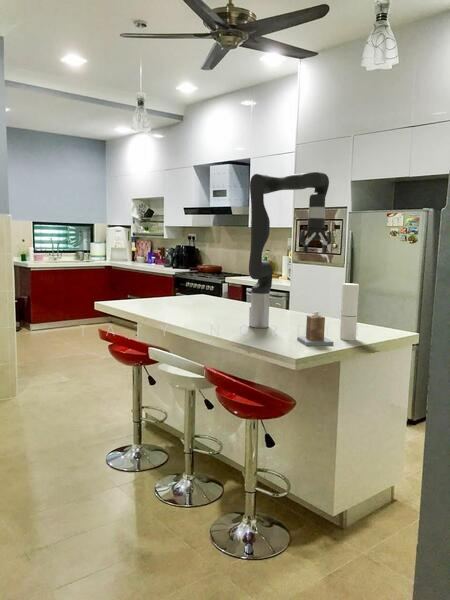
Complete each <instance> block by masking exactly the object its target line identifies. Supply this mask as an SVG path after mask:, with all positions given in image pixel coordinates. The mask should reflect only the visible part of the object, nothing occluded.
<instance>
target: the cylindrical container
mask: <svg viewBox="0 0 450 600" xmlns="http://www.w3.org/2000/svg"><path fill="white" fill-rule="evenodd" d="M341 286H342V288H341V289H342V290H341V291H342V292H341V310H340V311H341V312H340V322H339V323H340V326H339V339H340V340H343V341H357V340H356V339H357V328H358V326H357V324H358V323H357V322H358V307H359V293H360V291H359V289H360V284H358V283H346V282H345V283H344V282H343V283H342V285H341Z"/></svg>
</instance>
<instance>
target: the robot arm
mask: <svg viewBox="0 0 450 600" xmlns="http://www.w3.org/2000/svg"><path fill="white" fill-rule="evenodd" d="M249 181H250V182H249V190H250V191H249V193H250V194H249V195H250V207H251V208H250V214H251V215H250V217H251V220H250V253H249V259H248V260H249V261H248V275H249V276H250V279H252V280H257V281H256V283H255V284H254V285H253V286H252V287H251V290H250V291H251V295H250V296H251V297H250V301H251V302H250V303H251V304H250V307H249V314H248V315H249V319H248V321H249V322H248V325H249V326H250V327H252V328H256V329H262V328H264V329H266V328H269V325H270V297H271V294H270V293H271V292H270V291H271V289H272V284H273V271H274V269H273V266H272V265H273V264H271V262H270V261H268V260H262V259H263V257H262V256H263V250H264V248H265V245H266V243H267V241H268V239H269V237H270V233H271V232H270V226H271V221H270V218H269V214H268V212H267V209H266V206H265V199H264V195H267V194H270V193H275V192H278V191H295V190H305V189H307V188H308V189H310V188H311V189H314V191H313V194H310V196H309V201H308V202H309V205H308V215H307V230H303V229H302V230H300V233H299V234H300V235H299V244H300V245H303V248H302V249H303V253H304V254H307V255H308V251H309V250H308V249H309V248H308V247H309V243H310V242H311V241H320V242H321V244H322V249H321V250H322V251H321V253H322V254H323V255H325V254H326V253H327V251H328V249H327V247H328V245H331V244H332V230H326V231H325V226H326V197H327V195H328V194H327V193H328V190H329V185H330V180H329V176H328V174H326V173H325V172H320V171H310V172H305V173H294V174H288V175H284V176H281V177H280V176H278V177H277V176H271V175H267V174H263V173H255V174H253V175H252V176H251V178H250V180H249ZM306 235H307V237H306V238H305V236H306ZM324 236H326V239H325V237H324Z"/></svg>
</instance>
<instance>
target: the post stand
mask: <svg viewBox="0 0 450 600" xmlns="http://www.w3.org/2000/svg"><path fill="white" fill-rule="evenodd" d="M319 313H320V312H319V311H313V315H314V317H318V316H319ZM296 340H297V341H298V342H300V343H302V344H303V345H304V346H306V347H315V346H318V347H319V346H322V347H323V346H334V344H335V342H334V341H333V340H331V339H329V338H327V337H326V336H324V341H310V340H309V339H307V338H306V335H304V336H300V335H299V336H297V338H296Z"/></svg>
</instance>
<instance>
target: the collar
mask: <svg viewBox="0 0 450 600" xmlns="http://www.w3.org/2000/svg"><path fill="white" fill-rule="evenodd" d="M325 322H326V317H325V316H322V315H319V316H318V317H314V314H313V315H312V314H311V315H309V314H307V315H306V328H305V336H306V338H307V339H309V340H310V341H324V337H325V330H326V329H325V327H326V326H325V325H326V323H325Z"/></svg>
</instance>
